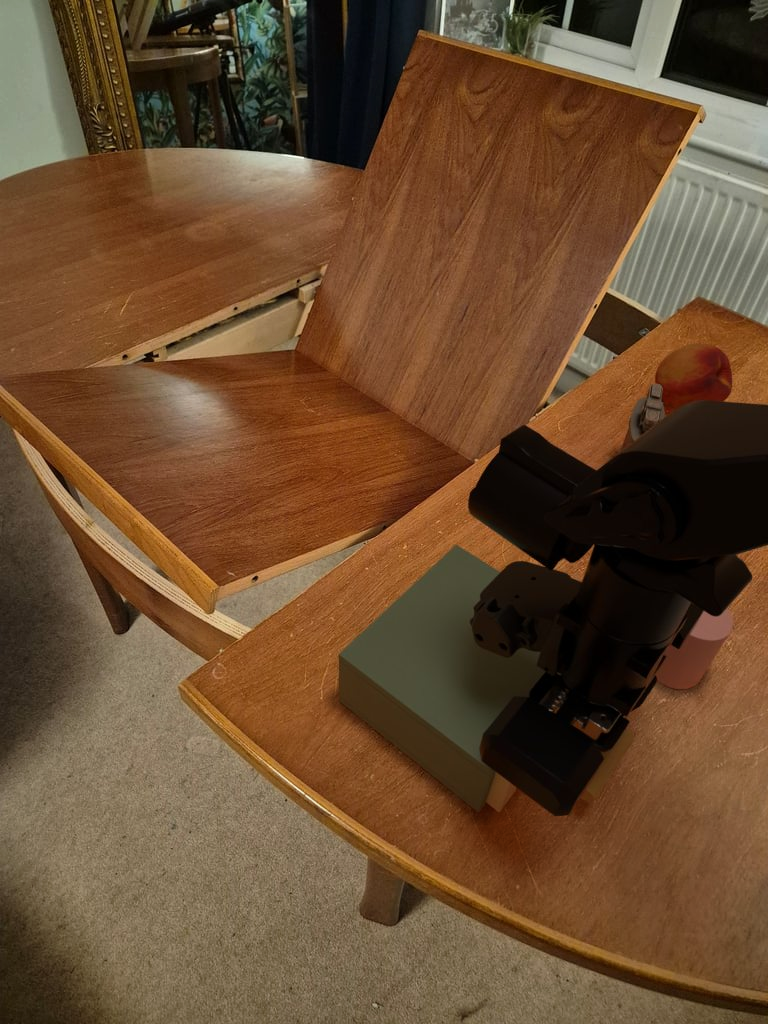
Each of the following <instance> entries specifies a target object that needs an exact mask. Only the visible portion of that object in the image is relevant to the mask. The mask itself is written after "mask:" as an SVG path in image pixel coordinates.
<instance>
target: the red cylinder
mask: <svg viewBox="0 0 768 1024" xmlns="http://www.w3.org/2000/svg"><path fill="white" fill-rule="evenodd" d="M733 628H734V619H733V616H732V614H731V611H730V610H729V609H728V608H727V609H726V610H725V611H724V612H723V613H722V614H721V615H720V616H717V617H714V616H711V615H710V614H708V613H706V612H705V611H704V612H703V613H702V615H701V617H700V619H699V621H698V623H697V624H696V626H695V628H694V629H693V631H692V632H691V634H690V635H689V637H688V638H687V640H686V641H685V643H684V644H683V646H682V647H681V649H677V648H675V647H674V646H672V645H671V644H670V645H669V647H667V649H666V651H665V653H664V655H665V656H667V657H666V659H665V661H664V662H663V664H662V666H661V667H660V669H659V670H658V672H657V673H656V676H657V683H659V684H661V685H662V686H665V687H667V688H670V689H675V690H687V689H691V688H694V687H695V686H696V685H697V684H698V683H699V682H700V681H701V679H702V678H703V676H704V675H705V673H706V672H707V670H708V669H709V667H710V666H711V664H712V662H713V661H714V660H715V658H716V657H717V655H718V653H719V652H720V650H721V648H722V647H723V646H724V644H725V643H726V641H727V639H728V637H730V634H731V633H732V632H733ZM672 642H673V641H672ZM672 642H671V643H672Z"/></svg>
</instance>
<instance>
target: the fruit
mask: <svg viewBox="0 0 768 1024" xmlns="http://www.w3.org/2000/svg"><path fill="white" fill-rule="evenodd" d="M654 382H655V384H660V385H661V387H662V397H661V399H662V400H663V403H664V404H666V405H667V406H670V407H671V408H674V409H677V408H678V407H680V406H681V405H683V404H687V403H691V402H695V401H700V400H710V401H723V402H726V400H727V399H728V398H729V397H730V395H731V393H732V391H733V390H732V389H733V372H732V367H731V363H730V360H729V358H728V356H727V354H726V353H725V352H723V350H721V349H720V348H719V347H717V346H715V345H712V344H708V343H690V344H686V345H683V346H681V347H678V348H676V349H675V350H673V351H672V352H670V353H669V354H667V355H666V356H665V357H664V358H663V359H662V360H661V361H660V363H659V364H658V366H657V368H656V371H655V375H654Z"/></svg>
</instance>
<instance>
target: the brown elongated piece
mask: <svg viewBox="0 0 768 1024" xmlns="http://www.w3.org/2000/svg"><path fill="white" fill-rule="evenodd" d="M664 417H666V412H665V406H664V401H663V402H662V387H661V385H660V384H656V382H655V383H652V384H650V386H649V389H648V392H647V396H645V397H640V398H638V400H637V401H636V402H635V404H634V406H633V408H632V411H631V414H630V417H629V421H628V428H627V431H626V434H625V436H624V439H623V442H622V445H621V448H620V449H619V451H618V453H619V452H621V451H622V450H623V449H624V448H626V447H627V446H628V445H630V444H631V443H632V442H633V441H635V440H636V439H637V438H639V437H640V436H641V435H642V434H644V433H645V432H646V431H648V430H649V429H650V428H652V427H653V426H654V425H655V424H657V423H658V422H659V421H661V420H662V419H663V418H664ZM618 453H617V454H618Z"/></svg>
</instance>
